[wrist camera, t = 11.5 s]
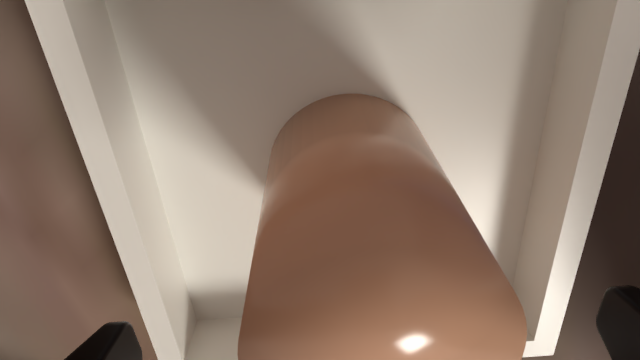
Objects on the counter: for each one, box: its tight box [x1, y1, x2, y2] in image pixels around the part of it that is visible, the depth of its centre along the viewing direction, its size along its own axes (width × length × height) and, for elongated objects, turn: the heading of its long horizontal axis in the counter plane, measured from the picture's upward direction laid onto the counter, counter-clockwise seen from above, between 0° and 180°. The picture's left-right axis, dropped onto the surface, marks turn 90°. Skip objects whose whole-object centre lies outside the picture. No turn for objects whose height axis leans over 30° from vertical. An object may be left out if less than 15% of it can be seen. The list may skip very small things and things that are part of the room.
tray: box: [25, 0, 640, 360], centre depth 13 cm, size 14×14×2 cm
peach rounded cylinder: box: [237, 94, 527, 360], centre depth 11 cm, size 5×5×7 cm
